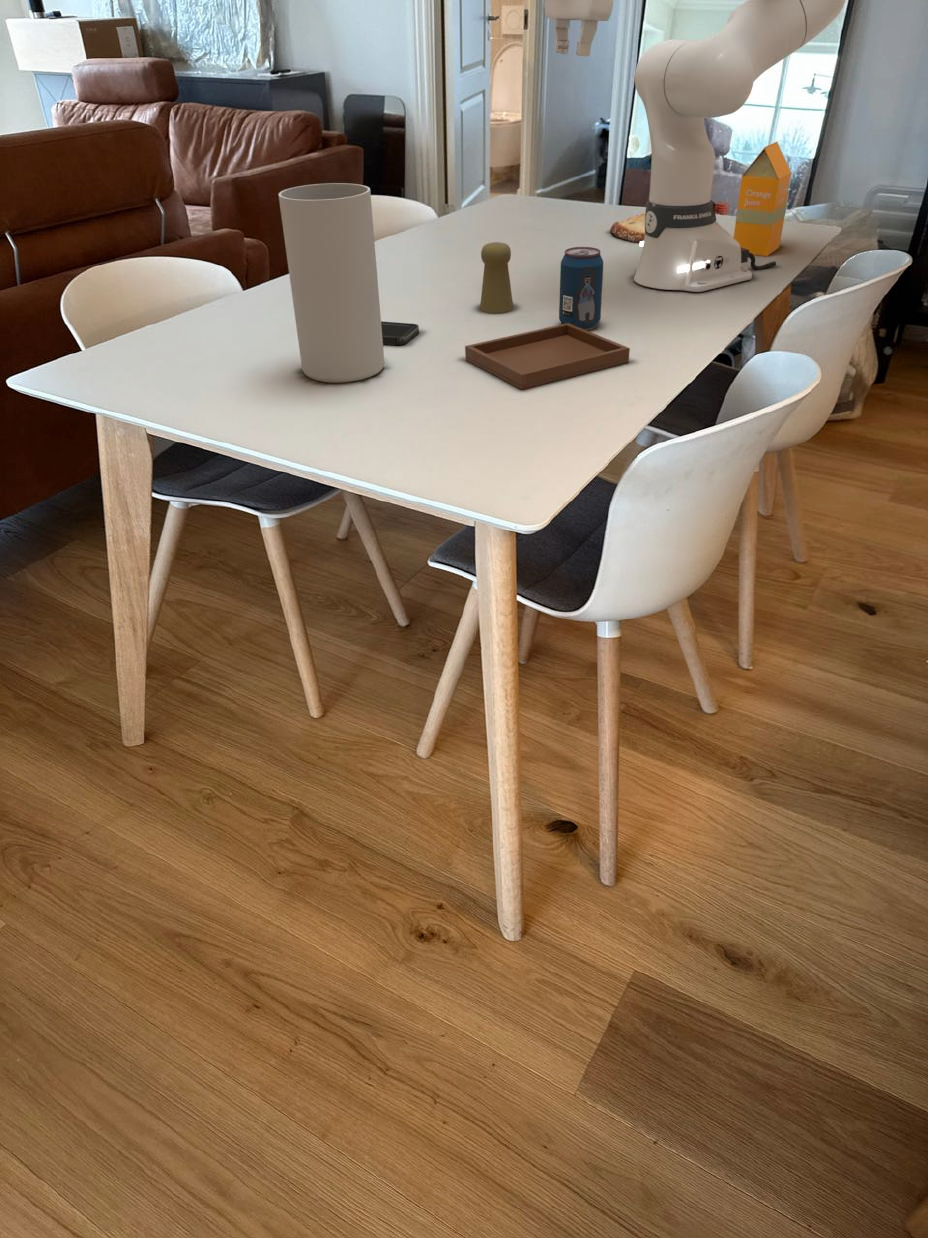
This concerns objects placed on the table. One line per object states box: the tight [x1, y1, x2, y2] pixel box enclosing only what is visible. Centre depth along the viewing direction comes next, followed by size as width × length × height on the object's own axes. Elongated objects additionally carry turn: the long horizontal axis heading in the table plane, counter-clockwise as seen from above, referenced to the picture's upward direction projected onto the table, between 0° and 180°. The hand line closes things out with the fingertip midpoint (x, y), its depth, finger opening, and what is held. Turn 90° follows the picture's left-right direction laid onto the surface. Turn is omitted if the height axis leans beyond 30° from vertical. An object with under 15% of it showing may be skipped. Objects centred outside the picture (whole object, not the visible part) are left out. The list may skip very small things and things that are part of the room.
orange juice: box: [733, 141, 792, 257], centre depth 186 cm, size 8×9×20 cm
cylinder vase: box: [278, 182, 385, 384], centre depth 131 cm, size 12×12×25 cm
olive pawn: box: [479, 241, 514, 314], centre depth 159 cm, size 6×6×11 cm
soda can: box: [558, 246, 604, 331], centre depth 149 cm, size 7×7×12 cm
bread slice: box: [609, 213, 645, 243], centre depth 203 cm, size 18×18×4 cm
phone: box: [381, 320, 420, 346], centre depth 151 cm, size 8×1×15 cm
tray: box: [464, 323, 631, 390], centre depth 138 cm, size 20×16×2 cm
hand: (571, 54), depth 142 cm, fingers open, 8 cm apart
